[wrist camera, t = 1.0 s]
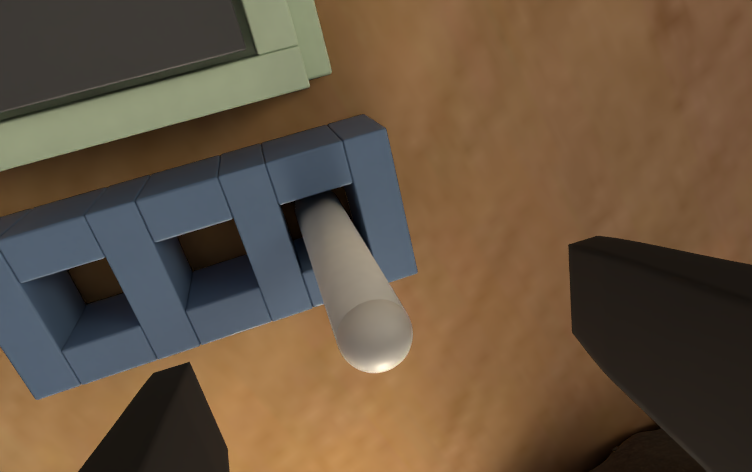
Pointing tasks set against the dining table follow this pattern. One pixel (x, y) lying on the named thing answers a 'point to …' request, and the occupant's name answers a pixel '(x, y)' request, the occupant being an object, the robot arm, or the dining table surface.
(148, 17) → the screen
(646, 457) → the stone bowl
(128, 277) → the pen rack
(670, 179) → the dining table surface
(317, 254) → the white rounded rod
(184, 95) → the pale green stepped tray
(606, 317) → the robot arm
